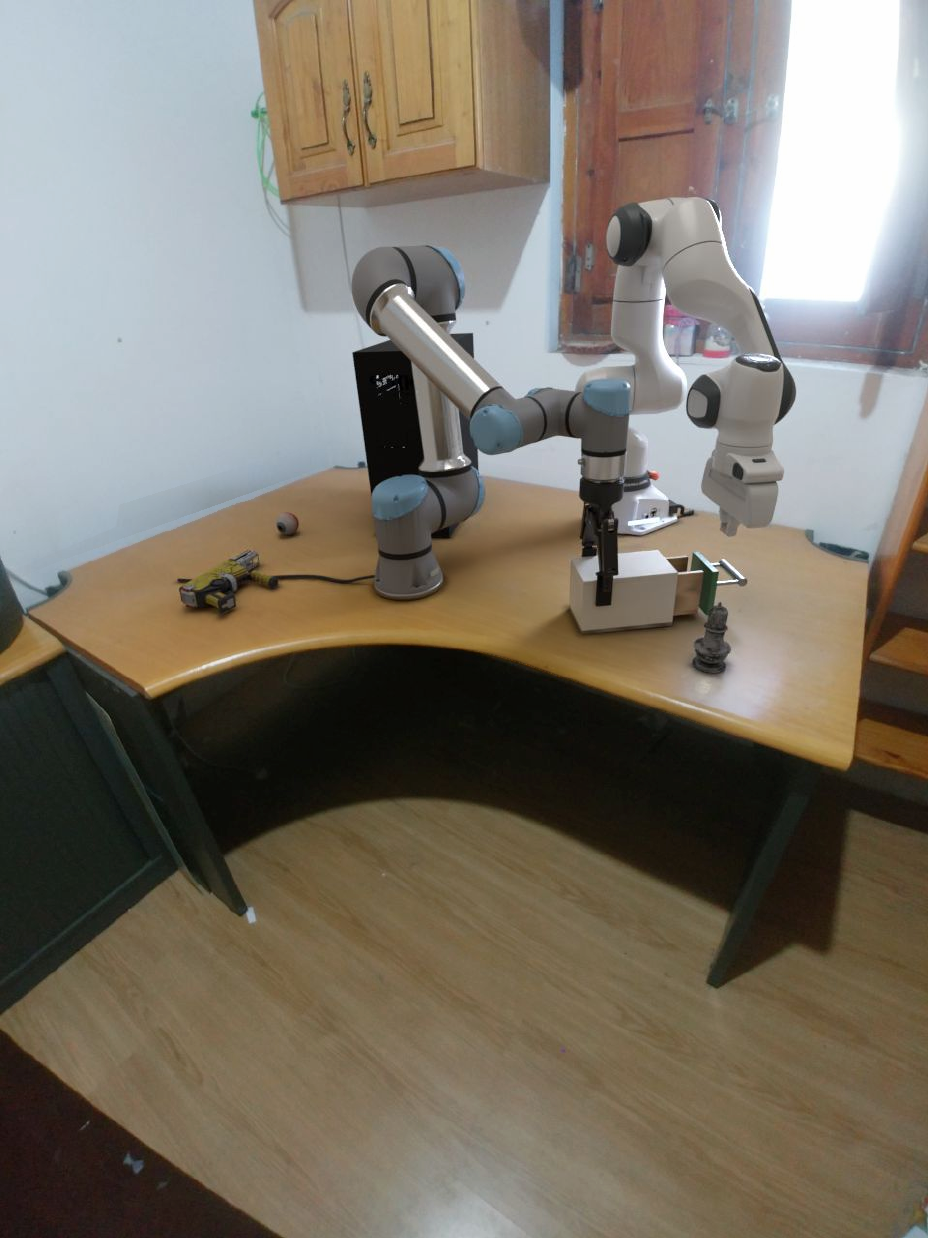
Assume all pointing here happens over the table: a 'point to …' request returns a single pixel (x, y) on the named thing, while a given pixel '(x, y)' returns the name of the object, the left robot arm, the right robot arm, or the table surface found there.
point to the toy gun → (223, 583)
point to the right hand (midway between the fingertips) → (727, 533)
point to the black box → (397, 414)
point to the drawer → (699, 583)
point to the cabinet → (624, 593)
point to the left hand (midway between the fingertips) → (595, 591)
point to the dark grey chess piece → (713, 642)
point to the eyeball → (287, 523)
